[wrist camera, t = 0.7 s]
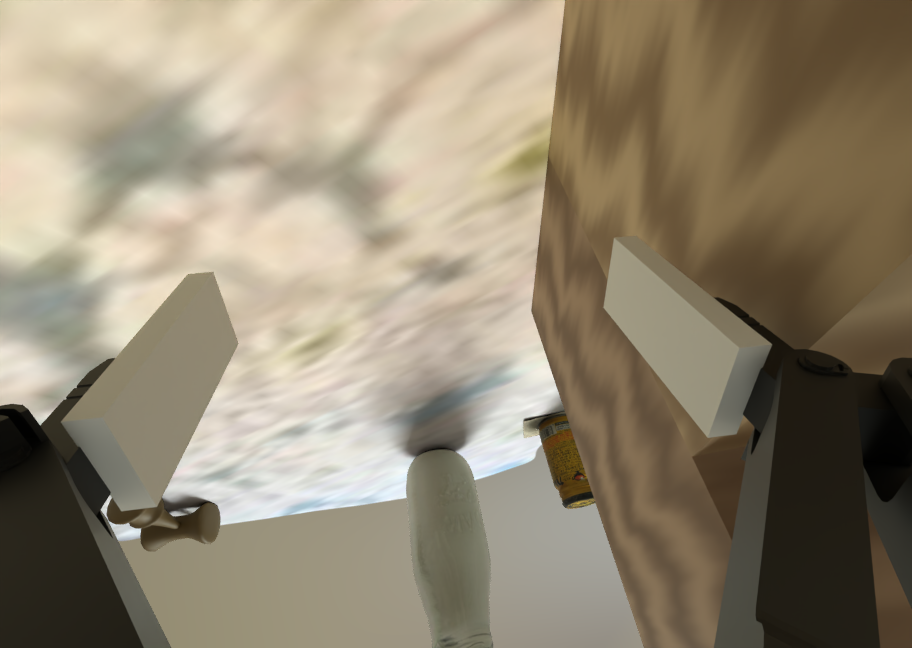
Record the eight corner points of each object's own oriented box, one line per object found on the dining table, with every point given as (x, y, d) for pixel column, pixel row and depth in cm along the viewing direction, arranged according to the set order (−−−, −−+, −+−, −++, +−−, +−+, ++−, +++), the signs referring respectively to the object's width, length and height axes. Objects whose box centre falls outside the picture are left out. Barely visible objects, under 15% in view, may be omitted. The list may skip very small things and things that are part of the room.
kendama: (168, 473, 61) (234, 512, 77) (94, 485, 61) (176, 521, 77) (157, 520, 57) (229, 551, 74) (78, 533, 57) (168, 561, 73)
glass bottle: (478, 439, 69) (525, 669, 53) (449, 464, 76) (484, 673, 60) (417, 438, 64) (449, 688, 49) (393, 465, 72) (414, 691, 56)
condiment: (576, 425, 71) (604, 504, 65) (523, 436, 71) (545, 517, 65) (580, 406, 65) (611, 491, 59) (522, 419, 65) (546, 505, 59)
